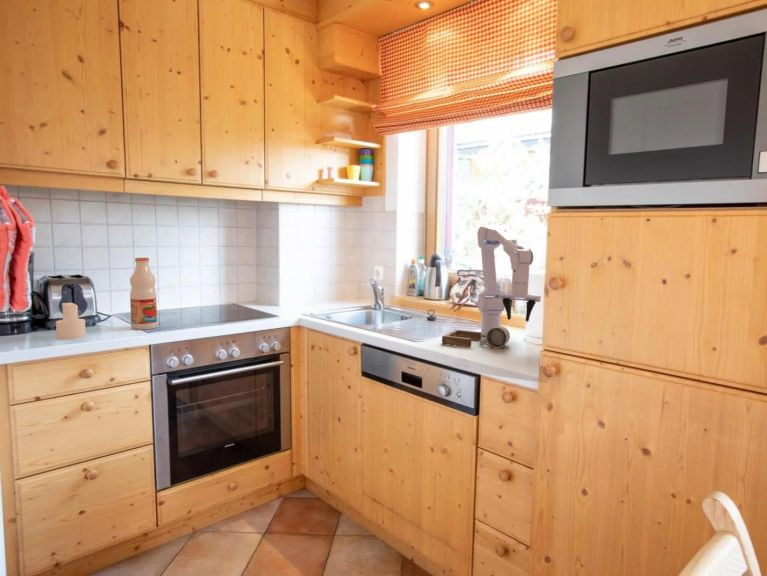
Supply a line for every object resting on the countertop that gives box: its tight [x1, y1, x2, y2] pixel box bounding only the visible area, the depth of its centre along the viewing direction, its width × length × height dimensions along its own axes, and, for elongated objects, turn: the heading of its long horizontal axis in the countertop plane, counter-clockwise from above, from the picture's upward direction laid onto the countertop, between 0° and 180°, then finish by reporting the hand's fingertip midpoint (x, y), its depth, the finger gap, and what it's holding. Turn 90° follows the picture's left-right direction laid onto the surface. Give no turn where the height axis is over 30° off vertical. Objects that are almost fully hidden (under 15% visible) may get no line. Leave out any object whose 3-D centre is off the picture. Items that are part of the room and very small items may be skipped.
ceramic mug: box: [478, 325, 511, 349], centre depth 185 cm, size 11×8×8 cm
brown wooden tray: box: [441, 329, 482, 348], centre depth 190 cm, size 15×10×3 cm
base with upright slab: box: [55, 302, 87, 341], centre depth 182 cm, size 9×9×12 cm
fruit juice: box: [129, 257, 158, 331], centre depth 201 cm, size 9×9×28 cm
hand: (518, 320), depth 183 cm, fingers open, 6 cm apart
